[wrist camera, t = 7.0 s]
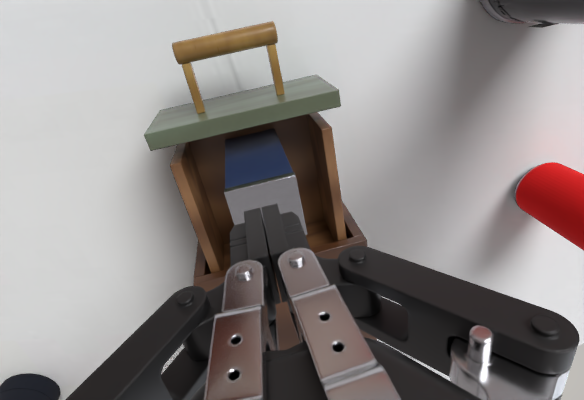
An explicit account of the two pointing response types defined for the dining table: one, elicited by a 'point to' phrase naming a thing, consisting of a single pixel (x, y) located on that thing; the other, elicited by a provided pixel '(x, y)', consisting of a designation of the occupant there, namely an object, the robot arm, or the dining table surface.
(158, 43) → the dining table surface
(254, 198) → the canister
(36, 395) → the black bottle
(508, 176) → the dining table surface
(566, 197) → the beverage can
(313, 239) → the drawer
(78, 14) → the dining table surface
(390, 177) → the dining table surface
